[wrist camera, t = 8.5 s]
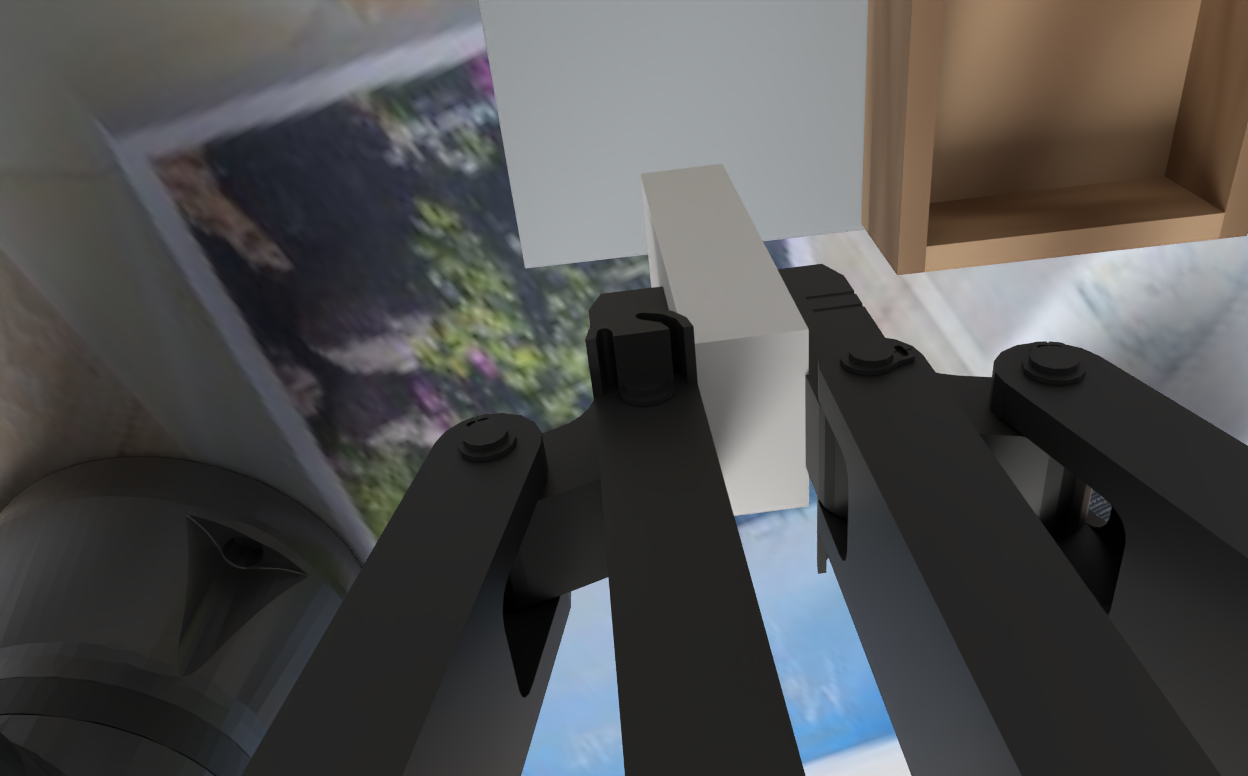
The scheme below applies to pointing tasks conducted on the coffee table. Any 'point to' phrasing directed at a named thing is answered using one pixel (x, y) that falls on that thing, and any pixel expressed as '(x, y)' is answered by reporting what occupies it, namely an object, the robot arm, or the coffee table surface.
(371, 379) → the coffee table surface
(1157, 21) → the wooden tray
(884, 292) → the coffee table surface
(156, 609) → the robot arm
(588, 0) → the board
